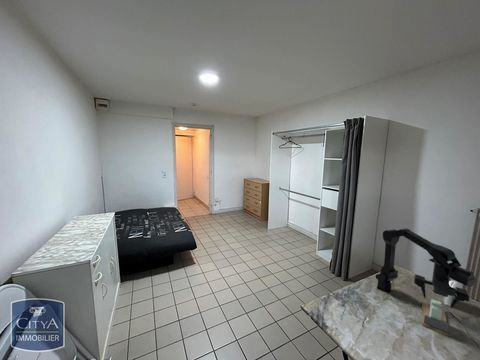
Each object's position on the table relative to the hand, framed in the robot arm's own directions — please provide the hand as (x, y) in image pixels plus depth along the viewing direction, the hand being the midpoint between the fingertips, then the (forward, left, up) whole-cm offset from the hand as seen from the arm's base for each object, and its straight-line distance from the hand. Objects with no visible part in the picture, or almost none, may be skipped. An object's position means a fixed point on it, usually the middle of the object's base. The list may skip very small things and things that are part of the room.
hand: (437, 302), depth 96 cm
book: (0, 0, -11) cm, 11 cm away
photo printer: (+7, +26, -12) cm, 30 cm away
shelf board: (0, +4, -12) cm, 12 cm away
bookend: (0, -5, -11) cm, 12 cm away
